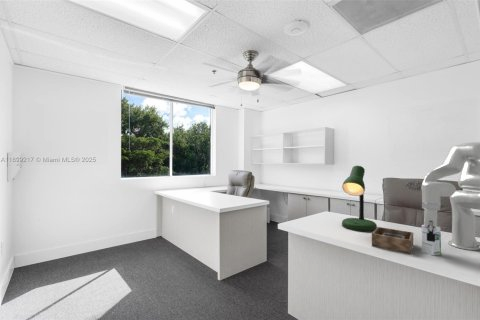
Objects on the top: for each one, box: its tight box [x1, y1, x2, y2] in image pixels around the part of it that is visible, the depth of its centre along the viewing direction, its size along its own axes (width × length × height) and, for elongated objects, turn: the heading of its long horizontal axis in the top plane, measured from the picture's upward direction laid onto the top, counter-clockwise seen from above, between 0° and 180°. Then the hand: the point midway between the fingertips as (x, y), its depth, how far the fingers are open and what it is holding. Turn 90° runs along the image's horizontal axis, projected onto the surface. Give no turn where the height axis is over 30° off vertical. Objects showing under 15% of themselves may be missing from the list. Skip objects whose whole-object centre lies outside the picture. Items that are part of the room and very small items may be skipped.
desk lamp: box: [341, 165, 378, 233], centre depth 166 cm, size 31×23×45 cm
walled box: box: [371, 226, 414, 255], centre depth 133 cm, size 18×18×7 cm
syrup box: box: [421, 224, 442, 256], centre depth 122 cm, size 6×6×14 cm
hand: (430, 238), depth 122 cm, fingers open, 9 cm apart
